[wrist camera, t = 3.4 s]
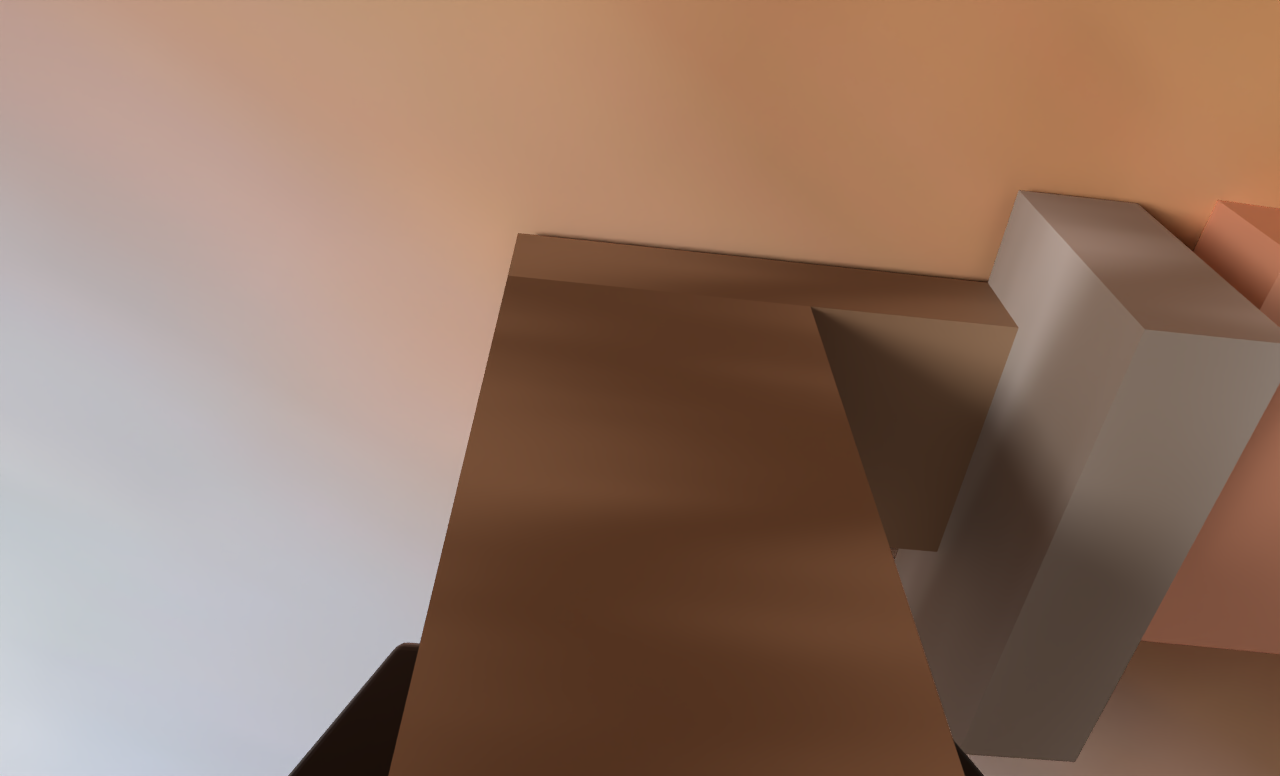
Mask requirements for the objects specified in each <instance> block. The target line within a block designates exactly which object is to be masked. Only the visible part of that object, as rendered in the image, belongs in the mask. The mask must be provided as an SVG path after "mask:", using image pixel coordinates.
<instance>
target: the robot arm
mask: <svg viewBox="0 0 1280 776" xmlns="http://www.w3.org/2000/svg"><path fill="white" fill-rule="evenodd" d="M419 645H420V643H403V644H401V645H399V646H397V647H396V648H395V649H394V650H393V651H392V652H391V654H390V655H389V656H388V657H387V658H386V660H385V661H384V662H383V663H382V664H381V666H380V667H379V668H378V669H377V670H376V672H375V673H374V674H373V675H372V676H371V678H370V679H369V680H368V681H367V682H366V683H365V685H364V686H363V687H362V688H361V689H360V691H359V692H358V693H357V694H356V695H355V697H354V698H353V699H352V700H351V701H350V703H349V704H348V705H347V706H346V707H345V709H344V710H343V711H342V712H341V713H340V715H339V716H338V717H337V718H336V719H335V721H334V722H333V723H332V724H331V725H330V727H329V728H328V729H327V730H326V731H325V733H324V734H323V735H322V736H321V737H320V738H319V740H318V741H317V742H316V743H315V744H314V746H313V747H312V748H311V749H310V750H309V752H308V753H307V754H306V755H305V756H304V758H303V759H302V760H301V761H300V762H299V764H298V765H297V766H296V767H295V768H294V770H293V771H292V772H291V773H290V774H289V776H388V775H389V771H390V767H391V762H392V758H393V754H394V750H395V746H396V742H397V737H398V733H399V729H400V725H401V721H402V717H403V712H404V708H405V704H406V700H407V696H408V691H409V687H410V683H411V679H412V675H413V671H414V666H415V662H416V658H417V654H418V650H419ZM953 741H954V740H953ZM954 744H955V747H956V750H957V753H958V756H959V759H960V762H961V765H962V769H963V772H964V775H965V776H984V775H983V774H982V773H981V772H980V771H979V770H978V768H977V767H976V766H975V765H974V764H973V762H972V761H971V760H970V759H969V758H968V756H967V755H966V754H965V753H964V752H963V750H962V749H961V748H960V747H959V746H958V745H957V743H956V742H955V741H954Z"/></svg>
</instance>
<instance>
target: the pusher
mask: <svg viewBox="0 0 1280 776" xmlns="http://www.w3.org/2000/svg"><path fill="white" fill-rule="evenodd" d="M1279 384H1280V327H1278V326H1277V325H1276V324H1275V323H1274V322H1273V321H1272V320H1270V319H1269V318H1268V317H1267V316H1266V315H1265V314H1264V313H1262V312H1261V311H1260V310H1259V309H1258V308H1257V307H1256V306H1254V305H1253V304H1252V303H1251V302H1250V301H1249V300H1247V299H1246V298H1245V297H1244V296H1243V295H1242V294H1241V293H1239V292H1238V291H1237V290H1236V289H1235V288H1234V287H1233V286H1231V285H1230V284H1229V283H1228V282H1227V281H1226V280H1225V279H1223V278H1222V277H1221V276H1220V275H1219V274H1218V273H1217V272H1215V271H1214V270H1213V269H1212V268H1211V267H1210V266H1209V265H1207V264H1206V263H1205V262H1204V261H1203V260H1202V259H1200V258H1199V257H1198V256H1197V255H1196V254H1195V253H1194V252H1192V251H1191V250H1190V249H1189V248H1188V247H1187V246H1186V245H1184V244H1183V243H1182V242H1181V241H1180V240H1179V239H1178V238H1176V237H1175V236H1174V235H1173V234H1172V233H1171V232H1170V231H1168V230H1167V229H1166V228H1165V227H1164V226H1163V225H1161V224H1160V223H1159V222H1158V221H1157V220H1156V219H1155V218H1153V217H1152V216H1151V215H1150V214H1149V213H1148V212H1147V211H1145V210H1144V209H1143V208H1142V207H1141V206H1140V205H1139V204H1137V203H1129V202H1120V201H1111V200H1102V199H1093V198H1084V197H1075V196H1066V195H1057V194H1048V193H1039V192H1030V191H1021V190H1019V191H1018V194H1017V197H1016V200H1015V203H1014V206H1013V209H1012V212H1011V215H1010V218H1009V221H1008V224H1007V227H1006V230H1005V233H1004V236H1003V239H1002V242H1001V245H1000V248H999V251H998V254H997V257H996V260H995V263H994V266H993V269H992V272H991V275H990V278H989V281H988V283H987V282H977V281H968V280H958V279H949V278H939V277H929V276H920V275H910V274H901V273H891V272H882V271H872V270H863V269H853V268H844V267H834V266H825V265H815V264H806V263H796V262H787V261H777V260H768V259H758V258H749V257H739V256H730V255H720V254H711V253H701V252H692V251H682V250H672V249H663V248H653V247H644V246H634V245H625V244H615V243H606V242H596V241H587V240H577V239H568V238H558V237H549V236H539V235H530V234H520V233H518V236H517V240H516V244H515V249H514V253H513V257H512V261H511V265H510V269H509V274H508V278H507V282H506V286H505V290H504V295H503V299H502V303H501V307H500V311H499V315H498V320H497V324H496V328H495V332H494V336H493V340H492V345H491V349H490V353H489V357H488V361H487V366H486V370H485V374H484V378H483V382H482V386H481V391H480V395H479V399H478V403H477V407H476V412H475V416H474V420H473V424H472V428H471V432H470V437H469V441H468V445H467V449H466V453H465V457H464V462H463V466H462V470H461V474H460V478H459V483H458V487H457V491H456V495H455V499H454V503H453V508H452V512H451V516H450V520H449V524H448V529H447V533H446V537H445V541H444V545H443V549H442V554H441V558H440V562H439V566H438V570H437V574H436V579H435V583H434V587H433V591H432V595H431V600H430V604H429V608H428V612H427V616H426V620H425V625H424V629H423V633H422V637H421V641H420V645H419V650H418V654H417V658H416V662H415V666H414V671H413V675H412V679H411V683H410V687H409V691H408V696H407V700H406V704H405V708H404V712H403V717H402V721H401V725H400V729H399V733H398V737H397V742H396V746H395V750H394V754H393V758H392V762H391V767H390V771H389V775H388V776H965V775H964V772H963V769H962V765H961V762H960V759H959V756H958V753H957V750H956V747H955V744H954V741H955V742H956V743H957V745H958V746H959V747H960V748H961V749H962V750H963V752H964V753H965V754H971V755H985V756H999V757H1013V758H1027V759H1041V760H1055V761H1069V762H1075V761H1076V759H1077V757H1078V756H1079V754H1080V752H1081V750H1082V748H1083V746H1084V744H1085V743H1086V741H1087V739H1088V737H1089V735H1090V733H1091V732H1092V730H1093V728H1094V726H1095V724H1096V722H1097V720H1098V719H1099V717H1100V715H1101V713H1102V711H1103V709H1104V707H1105V706H1106V704H1107V702H1108V700H1109V698H1110V696H1111V694H1112V693H1113V691H1114V689H1115V687H1116V685H1117V683H1118V682H1119V680H1120V678H1121V676H1122V674H1123V672H1124V670H1125V669H1126V667H1127V665H1128V663H1129V661H1130V659H1131V657H1132V656H1133V654H1134V652H1135V650H1136V648H1137V646H1138V645H1139V643H1140V641H1141V639H1142V637H1143V635H1144V633H1145V632H1146V630H1147V628H1148V626H1149V624H1150V622H1151V620H1152V619H1153V617H1154V615H1155V613H1156V611H1157V609H1158V608H1159V606H1160V604H1161V602H1162V600H1163V598H1164V596H1165V595H1166V593H1167V591H1168V589H1169V587H1170V585H1171V583H1172V582H1173V580H1174V578H1175V576H1176V574H1177V572H1178V570H1179V569H1180V567H1181V565H1182V563H1183V561H1184V559H1185V558H1186V556H1187V554H1188V552H1189V550H1190V548H1191V546H1192V545H1193V543H1194V541H1195V539H1196V537H1197V535H1198V533H1199V532H1200V530H1201V528H1202V526H1203V524H1204V522H1205V521H1206V519H1207V517H1208V515H1209V513H1210V511H1211V509H1212V508H1213V506H1214V504H1215V502H1216V500H1217V498H1218V496H1219V495H1220V493H1221V491H1222V489H1223V487H1224V485H1225V484H1226V482H1227V480H1228V478H1229V476H1230V474H1231V472H1232V471H1233V469H1234V467H1235V465H1236V463H1237V461H1238V459H1239V458H1240V456H1241V454H1242V452H1243V450H1244V448H1245V447H1246V445H1247V443H1248V441H1249V439H1250V437H1251V435H1252V434H1253V432H1254V430H1255V428H1256V426H1257V424H1258V422H1259V421H1260V419H1261V417H1262V415H1263V413H1264V411H1265V409H1266V408H1267V406H1268V404H1269V402H1270V400H1271V398H1272V397H1273V395H1274V393H1275V391H1276V389H1277V387H1278V385H1279ZM890 548H897V549H898V552H897V555H896V558H895V562H894V559H893V556H892V553H891V550H890ZM895 564H896V565H895ZM896 567H897V568H896ZM897 570H898V571H897ZM898 573H899V574H898ZM899 576H900V577H899ZM900 579H901V580H900ZM901 582H902V583H901ZM902 585H903V586H902ZM903 588H904V589H903ZM904 591H905V592H904ZM905 594H906V595H905ZM906 597H907V598H906ZM907 600H908V602H907ZM908 604H909V605H908ZM909 607H910V608H909ZM910 610H911V611H910ZM911 613H912V614H911ZM912 616H913V617H912ZM913 619H914V620H913ZM914 622H915V623H914ZM915 625H916V626H915ZM916 628H917V629H916ZM917 631H918V632H917ZM918 634H919V635H918ZM919 637H920V638H919ZM920 640H921V641H920ZM921 643H922V644H921ZM922 646H923V647H922ZM923 649H924V650H923ZM924 652H925V653H924ZM925 655H926V656H925ZM926 658H927V659H926ZM927 661H928V662H927ZM928 664H929V665H928ZM929 667H930V668H929ZM930 670H931V671H930ZM931 673H932V674H931ZM932 676H933V677H932ZM933 679H934V680H933ZM934 682H935V683H934ZM935 685H936V687H935ZM936 688H937V690H936ZM937 691H938V693H937ZM938 694H939V696H938ZM939 698H940V699H939ZM940 701H941V702H940ZM941 704H942V705H941ZM942 707H943V708H942ZM943 710H944V711H943ZM944 713H945V714H944ZM945 716H946V717H945ZM946 719H947V720H946ZM947 722H948V723H947ZM948 725H949V726H948ZM949 728H950V729H949ZM950 731H951V732H950ZM951 734H952V735H951ZM952 737H953V738H952ZM953 740H954V741H953Z"/></svg>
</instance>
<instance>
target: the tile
mask: <svg viewBox="0 0 1280 776" xmlns="http://www.w3.org/2000/svg"><path fill="white" fill-rule="evenodd" d="M1193 252H1194V253H1195V254H1196V255H1197V256H1198V257H1199V258H1200V259H1202V260H1203V261H1204V262H1205V263H1206V264H1207V265H1209V266H1210V267H1211V268H1212V269H1213V270H1214V271H1215V272H1217V273H1218V274H1219V275H1220V276H1221V277H1222V278H1223V279H1225V280H1226V281H1227V282H1228V283H1229V284H1230V285H1231V286H1233V287H1234V288H1235V289H1236V290H1237V291H1238V292H1239V293H1241V294H1242V295H1243V296H1244V297H1245V298H1246V299H1247V300H1249V301H1250V302H1251V303H1252V304H1253V305H1254V306H1256V307H1257V308H1258V309H1259V310H1260V311H1261V312H1262V313H1264V314H1265V315H1266V316H1267V317H1268V318H1269V319H1270V320H1272V321H1273V322H1274V323H1275V324H1276V325H1277V326H1278V327H1280V209H1278V208H1271V207H1264V206H1257V205H1250V204H1243V203H1236V202H1229V201H1222V200H1217V202H1216V204H1215V207H1214V209H1213V211H1212V213H1211V215H1210V217H1209V219H1208V221H1207V223H1206V225H1205V227H1204V229H1203V232H1202V234H1201V236H1200V238H1199V240H1198V242H1197V244H1196V246H1195V248H1194V250H1193ZM1141 641H1149V642H1159V643H1169V644H1180V645H1190V646H1200V647H1211V648H1221V649H1231V650H1242V651H1252V652H1262V653H1273V654H1280V384H1279V385H1278V387H1277V389H1276V391H1275V393H1274V395H1273V397H1272V398H1271V400H1270V402H1269V404H1268V406H1267V408H1266V409H1265V411H1264V413H1263V415H1262V417H1261V419H1260V421H1259V422H1258V424H1257V426H1256V428H1255V430H1254V432H1253V434H1252V435H1251V437H1250V439H1249V441H1248V443H1247V445H1246V447H1245V448H1244V450H1243V452H1242V454H1241V456H1240V458H1239V459H1238V461H1237V463H1236V465H1235V467H1234V469H1233V471H1232V472H1231V474H1230V476H1229V478H1228V480H1227V482H1226V484H1225V485H1224V487H1223V489H1222V491H1221V493H1220V495H1219V496H1218V498H1217V500H1216V502H1215V504H1214V506H1213V508H1212V509H1211V511H1210V513H1209V515H1208V517H1207V519H1206V521H1205V522H1204V524H1203V526H1202V528H1201V530H1200V532H1199V533H1198V535H1197V537H1196V539H1195V541H1194V543H1193V545H1192V546H1191V548H1190V550H1189V552H1188V554H1187V556H1186V558H1185V559H1184V561H1183V563H1182V565H1181V567H1180V569H1179V570H1178V572H1177V574H1176V576H1175V578H1174V580H1173V582H1172V583H1171V585H1170V587H1169V589H1168V591H1167V593H1166V595H1165V596H1164V598H1163V600H1162V602H1161V604H1160V606H1159V608H1158V609H1157V611H1156V613H1155V615H1154V617H1153V619H1152V620H1151V622H1150V624H1149V626H1148V628H1147V630H1146V632H1145V633H1144V635H1143V637H1142V639H1141Z"/></svg>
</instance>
